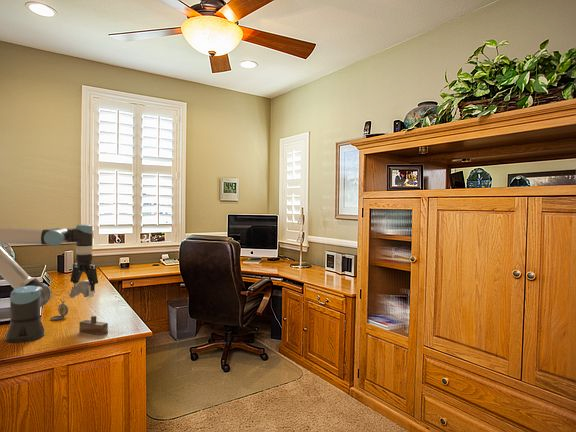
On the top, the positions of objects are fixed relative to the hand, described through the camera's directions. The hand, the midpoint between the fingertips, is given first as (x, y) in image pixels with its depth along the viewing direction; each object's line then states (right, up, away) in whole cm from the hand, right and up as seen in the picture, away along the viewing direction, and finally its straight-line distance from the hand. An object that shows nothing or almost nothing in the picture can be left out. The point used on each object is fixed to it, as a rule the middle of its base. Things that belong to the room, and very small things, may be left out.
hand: (84, 296), depth 198 cm
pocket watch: (-20, -15, +11) cm, 27 cm away
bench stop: (+11, -16, -11) cm, 22 cm away
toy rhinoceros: (-1, 0, 0) cm, 1 cm away
